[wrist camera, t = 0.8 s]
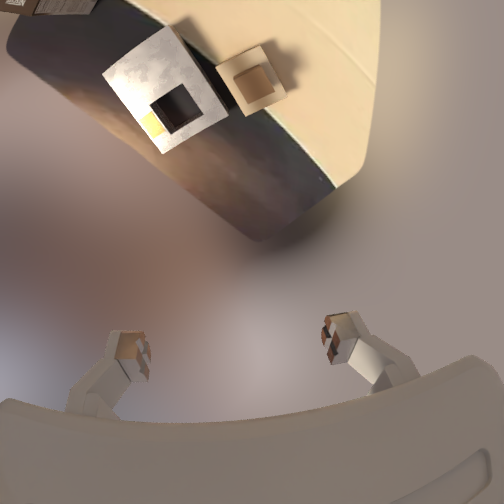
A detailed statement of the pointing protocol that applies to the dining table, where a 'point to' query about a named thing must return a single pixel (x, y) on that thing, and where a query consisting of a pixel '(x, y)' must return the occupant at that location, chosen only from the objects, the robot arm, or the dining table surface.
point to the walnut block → (253, 84)
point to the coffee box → (47, 7)
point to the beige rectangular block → (244, 63)
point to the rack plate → (164, 87)
